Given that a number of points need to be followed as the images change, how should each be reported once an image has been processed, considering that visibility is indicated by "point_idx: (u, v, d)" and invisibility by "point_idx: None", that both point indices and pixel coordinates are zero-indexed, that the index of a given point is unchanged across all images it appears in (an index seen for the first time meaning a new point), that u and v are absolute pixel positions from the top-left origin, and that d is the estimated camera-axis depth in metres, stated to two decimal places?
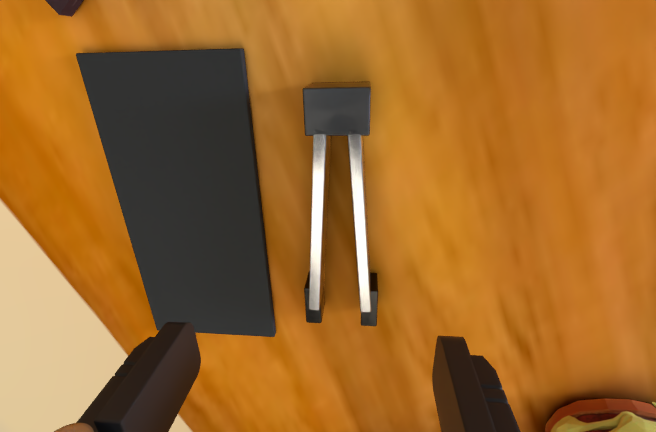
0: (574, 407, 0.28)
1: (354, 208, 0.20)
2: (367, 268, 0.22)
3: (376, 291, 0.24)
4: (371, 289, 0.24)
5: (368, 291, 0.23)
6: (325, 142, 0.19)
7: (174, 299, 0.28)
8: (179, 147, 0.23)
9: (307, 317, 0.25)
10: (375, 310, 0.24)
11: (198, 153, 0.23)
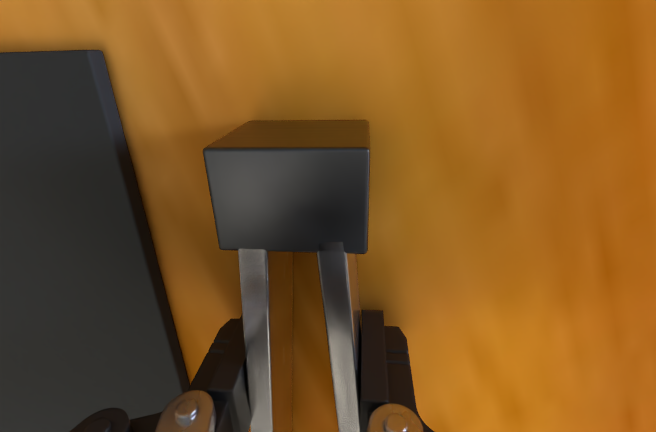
0: None
1: (336, 386, 0.10)
2: None
3: None
4: None
5: None
6: (266, 264, 0.08)
7: None
8: (6, 237, 0.12)
9: None
10: None
11: (43, 248, 0.12)
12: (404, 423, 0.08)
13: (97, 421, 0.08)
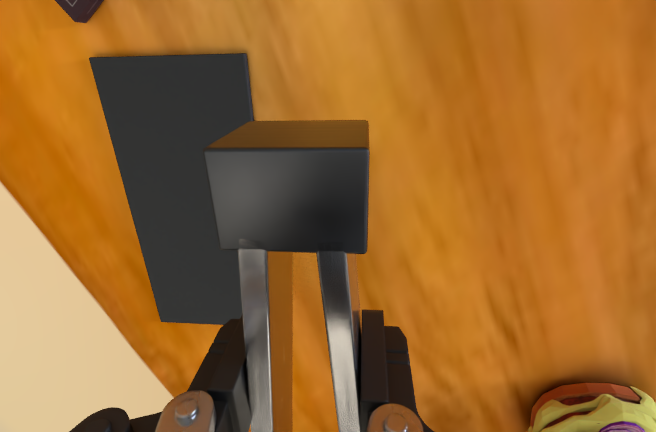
0: (557, 391, 0.30)
1: (336, 386, 0.10)
2: None
3: None
4: None
5: None
6: (266, 264, 0.08)
7: (178, 291, 0.29)
8: (185, 145, 0.24)
9: None
10: None
11: None
12: (404, 423, 0.08)
13: (97, 421, 0.08)
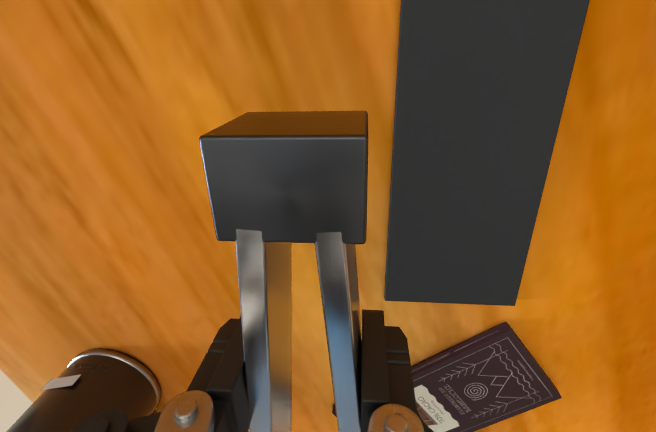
0: None
1: (334, 379, 0.10)
2: None
3: None
4: None
5: None
6: (264, 255, 0.08)
7: (534, 56, 0.21)
8: (454, 241, 0.26)
9: None
10: None
11: (438, 236, 0.26)
12: (405, 423, 0.08)
13: (96, 421, 0.08)
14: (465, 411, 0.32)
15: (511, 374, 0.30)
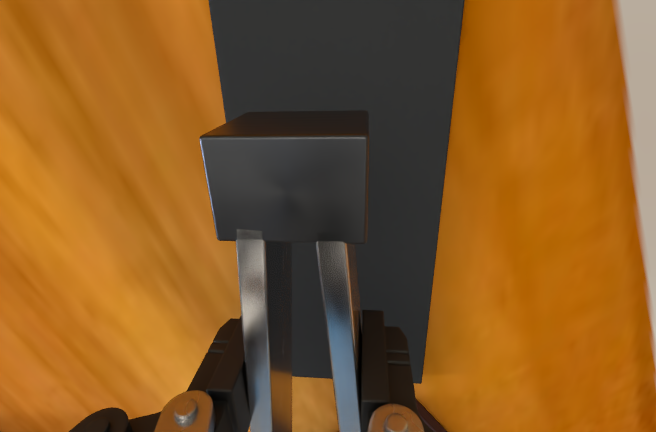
0: None
1: (335, 379, 0.10)
2: None
3: None
4: None
5: None
6: (265, 255, 0.08)
7: (399, 75, 0.15)
8: None
9: None
10: None
11: (313, 301, 0.20)
12: (405, 423, 0.08)
13: (95, 421, 0.08)
14: None
15: None
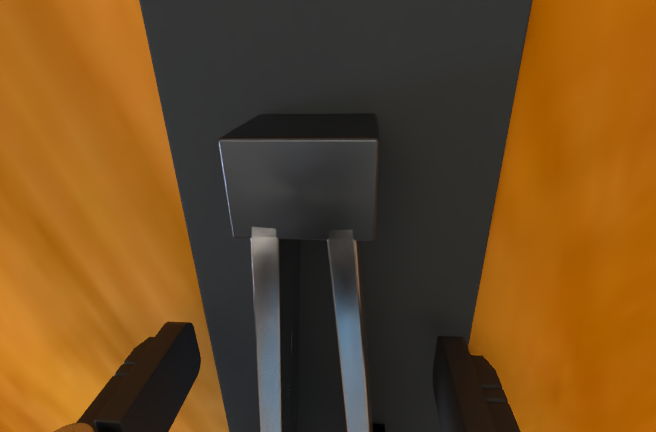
0: None
1: (343, 372, 0.10)
2: None
3: None
4: None
5: None
6: (278, 252, 0.09)
7: (427, 95, 0.10)
8: (328, 398, 0.15)
9: None
10: None
11: (300, 390, 0.15)
12: None
13: None
14: None
15: None
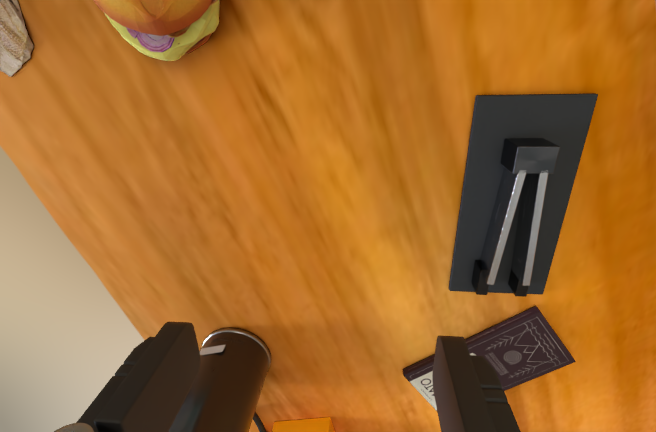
0: (208, 38, 0.31)
1: (534, 217, 0.32)
2: (534, 256, 0.34)
3: None
4: None
5: (531, 271, 0.35)
6: (524, 177, 0.31)
7: (560, 132, 0.32)
8: None
9: (478, 290, 0.37)
10: None
11: None
12: None
13: None
14: (503, 372, 0.44)
15: (539, 344, 0.42)
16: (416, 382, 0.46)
